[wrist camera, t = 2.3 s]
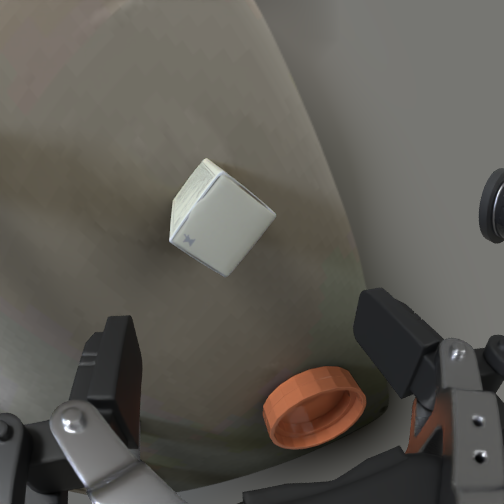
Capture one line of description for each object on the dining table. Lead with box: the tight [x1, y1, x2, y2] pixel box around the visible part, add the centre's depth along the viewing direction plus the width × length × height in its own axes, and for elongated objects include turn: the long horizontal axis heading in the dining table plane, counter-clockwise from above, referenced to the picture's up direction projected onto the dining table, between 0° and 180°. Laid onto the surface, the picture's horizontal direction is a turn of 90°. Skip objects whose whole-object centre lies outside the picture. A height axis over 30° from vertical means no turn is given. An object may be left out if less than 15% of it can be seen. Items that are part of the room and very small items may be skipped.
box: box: [169, 159, 276, 277], centre depth 22 cm, size 5×4×11 cm
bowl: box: [263, 366, 366, 449], centre depth 39 cm, size 14×14×5 cm
